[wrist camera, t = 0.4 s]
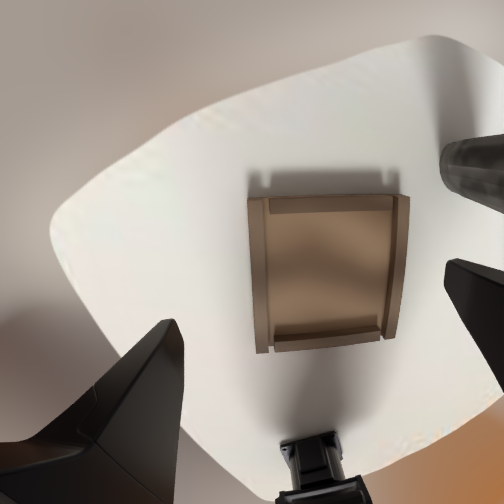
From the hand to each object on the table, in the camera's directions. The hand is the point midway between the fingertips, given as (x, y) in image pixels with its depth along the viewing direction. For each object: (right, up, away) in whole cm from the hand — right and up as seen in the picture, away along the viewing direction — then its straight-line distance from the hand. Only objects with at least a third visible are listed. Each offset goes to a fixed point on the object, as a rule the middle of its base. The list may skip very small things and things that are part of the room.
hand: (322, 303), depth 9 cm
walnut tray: (+4, 0, +15) cm, 15 cm away
